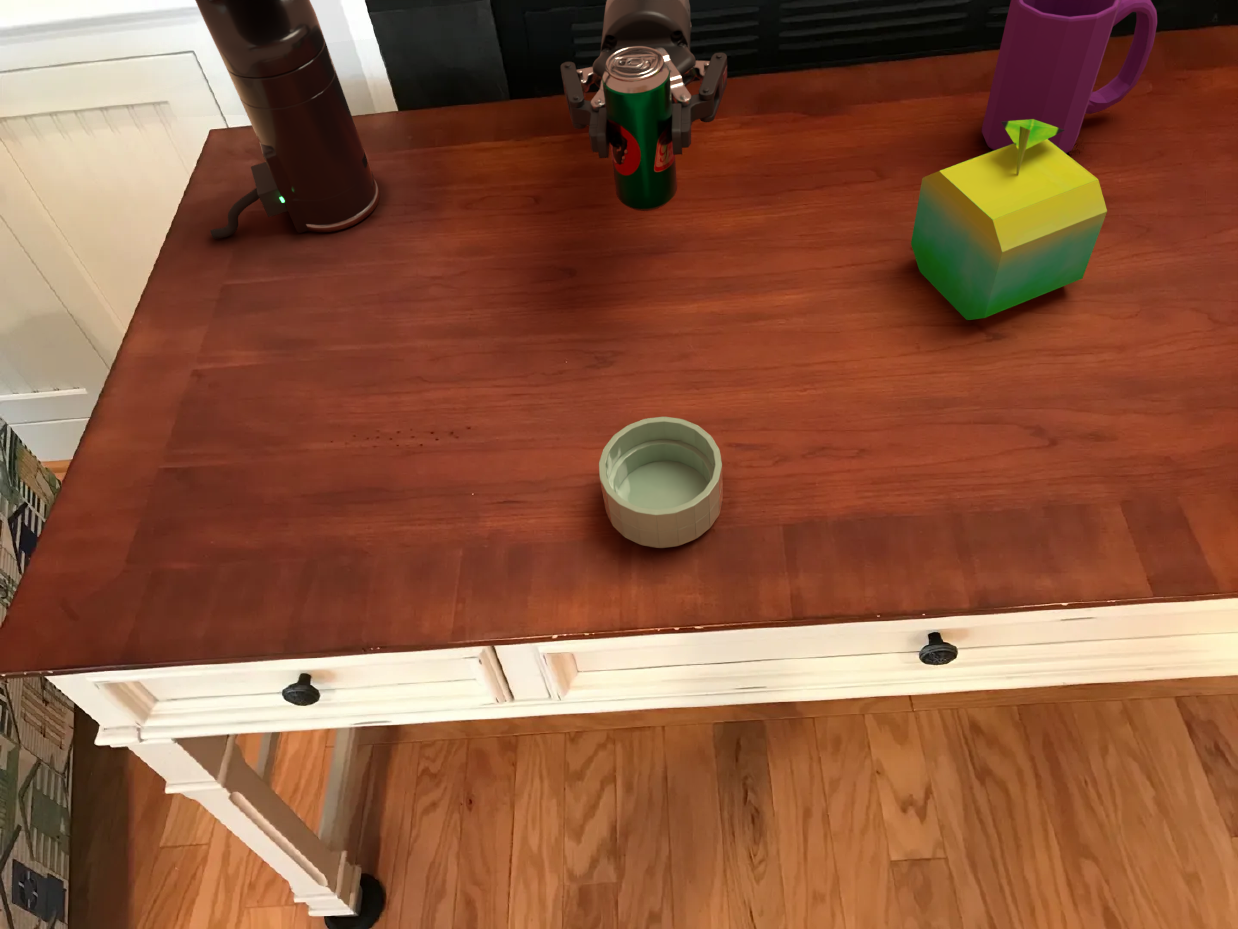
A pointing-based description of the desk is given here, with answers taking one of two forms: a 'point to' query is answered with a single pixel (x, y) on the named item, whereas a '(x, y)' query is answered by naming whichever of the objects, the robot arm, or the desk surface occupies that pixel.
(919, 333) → the desk surface
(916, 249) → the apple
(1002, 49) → the mug
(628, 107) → the soda can
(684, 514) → the bowl
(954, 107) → the desk surface
